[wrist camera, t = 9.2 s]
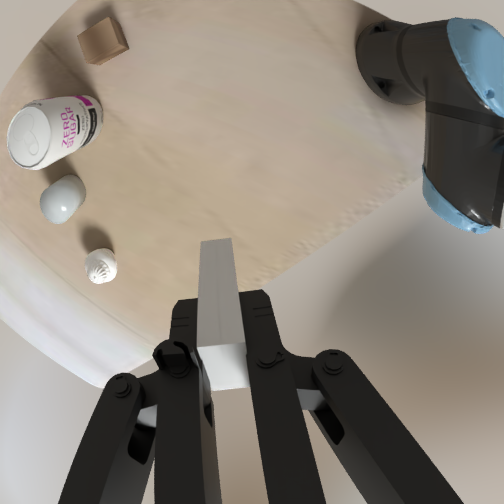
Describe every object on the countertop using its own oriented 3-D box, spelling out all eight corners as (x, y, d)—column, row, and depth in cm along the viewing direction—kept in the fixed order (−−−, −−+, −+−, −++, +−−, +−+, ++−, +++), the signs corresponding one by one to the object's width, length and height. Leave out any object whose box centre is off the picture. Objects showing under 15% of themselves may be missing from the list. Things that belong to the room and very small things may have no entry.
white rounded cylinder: (81, 171, 37) (64, 182, 32) (89, 204, 40) (75, 220, 35) (53, 179, 37) (35, 191, 32) (62, 211, 40) (46, 226, 35)
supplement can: (53, 116, 31) (-5, 133, 19) (91, 84, 30) (37, 86, 18) (74, 155, 36) (22, 187, 23) (113, 126, 35) (67, 145, 22)
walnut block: (120, 24, 26) (108, 16, 22) (129, 49, 29) (118, 43, 25) (91, 40, 27) (77, 35, 22) (100, 65, 29) (86, 62, 25)
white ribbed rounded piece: (113, 236, 44) (100, 258, 38) (127, 265, 47) (118, 289, 41) (86, 246, 44) (71, 268, 38) (101, 273, 47) (89, 296, 41)
